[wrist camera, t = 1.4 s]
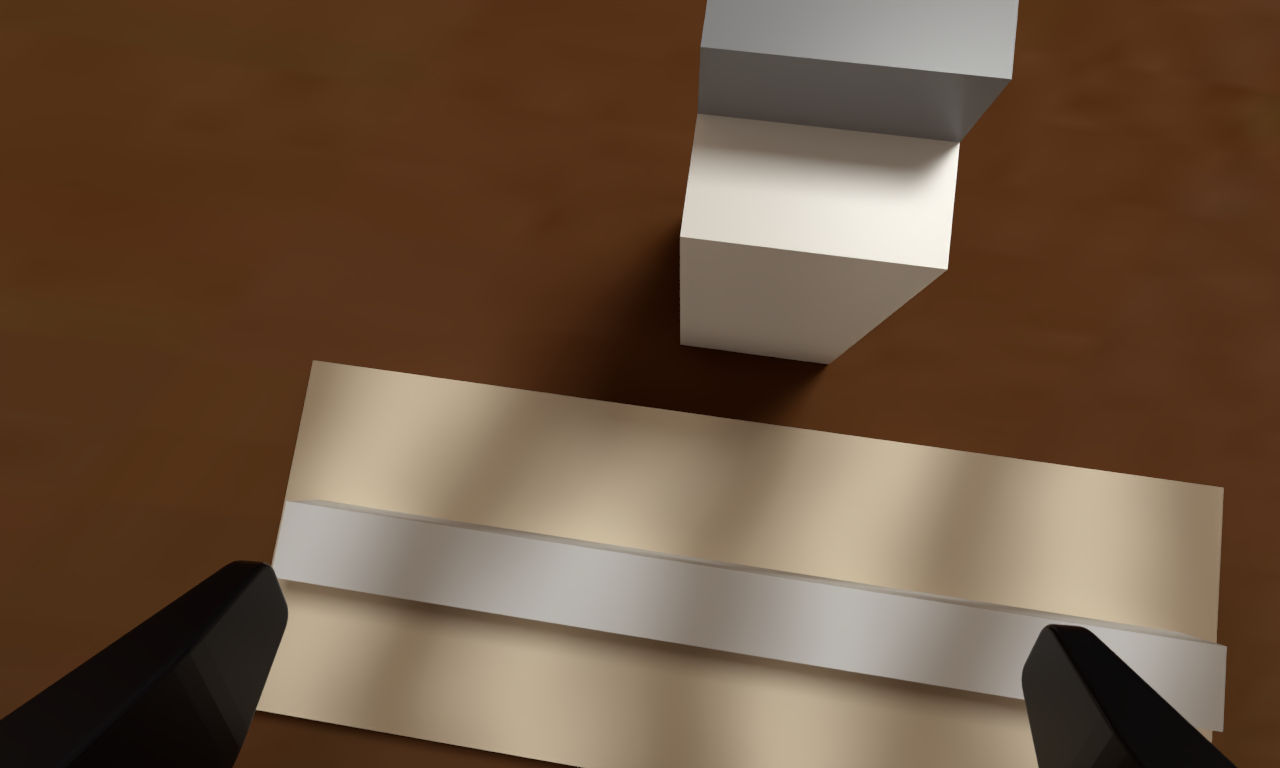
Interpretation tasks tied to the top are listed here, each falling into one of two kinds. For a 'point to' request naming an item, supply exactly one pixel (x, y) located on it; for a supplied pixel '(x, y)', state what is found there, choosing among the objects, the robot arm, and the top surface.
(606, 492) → the din board
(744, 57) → the breaker module
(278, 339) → the top surface
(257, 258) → the top surface
